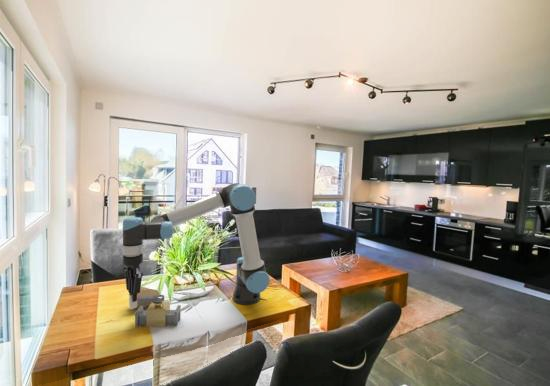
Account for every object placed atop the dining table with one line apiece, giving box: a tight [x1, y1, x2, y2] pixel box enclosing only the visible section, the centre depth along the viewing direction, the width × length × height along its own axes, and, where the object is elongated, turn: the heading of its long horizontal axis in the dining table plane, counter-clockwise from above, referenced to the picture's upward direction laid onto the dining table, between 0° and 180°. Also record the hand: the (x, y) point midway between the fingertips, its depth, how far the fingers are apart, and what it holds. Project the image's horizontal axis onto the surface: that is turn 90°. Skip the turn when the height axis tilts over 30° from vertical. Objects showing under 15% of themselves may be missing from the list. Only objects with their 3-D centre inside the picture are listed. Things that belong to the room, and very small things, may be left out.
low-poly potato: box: [135, 286, 161, 310], centre depth 139 cm, size 15×11×12 cm
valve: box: [134, 301, 182, 328], centre depth 126 cm, size 18×7×10 cm, turn 96°
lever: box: [137, 294, 165, 304], centre depth 124 cm, size 14×5×2 cm, turn 97°
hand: (133, 307), depth 119 cm, fingers closed
